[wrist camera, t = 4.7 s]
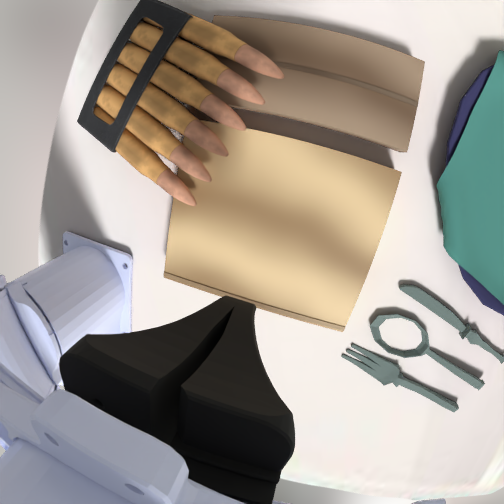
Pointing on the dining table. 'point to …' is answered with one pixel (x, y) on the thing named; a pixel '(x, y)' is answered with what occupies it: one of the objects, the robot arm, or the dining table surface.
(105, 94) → the ammunition clip
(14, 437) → the robot arm
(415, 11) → the dining table surface
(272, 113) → the floor row
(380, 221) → the plank
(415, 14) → the dining table surface
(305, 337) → the dining table surface
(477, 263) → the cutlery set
